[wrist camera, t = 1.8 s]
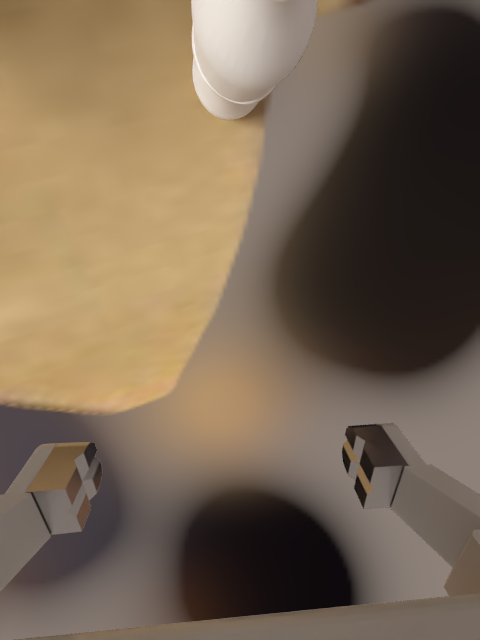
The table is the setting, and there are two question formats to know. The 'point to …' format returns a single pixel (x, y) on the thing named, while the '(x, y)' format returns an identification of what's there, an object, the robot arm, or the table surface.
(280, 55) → the water bottle
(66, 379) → the table surface
